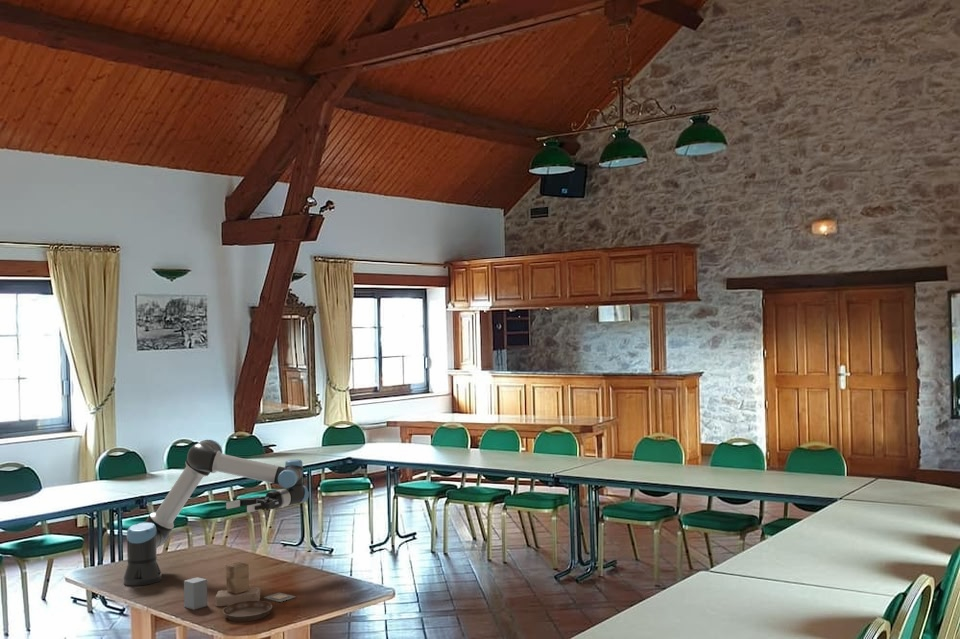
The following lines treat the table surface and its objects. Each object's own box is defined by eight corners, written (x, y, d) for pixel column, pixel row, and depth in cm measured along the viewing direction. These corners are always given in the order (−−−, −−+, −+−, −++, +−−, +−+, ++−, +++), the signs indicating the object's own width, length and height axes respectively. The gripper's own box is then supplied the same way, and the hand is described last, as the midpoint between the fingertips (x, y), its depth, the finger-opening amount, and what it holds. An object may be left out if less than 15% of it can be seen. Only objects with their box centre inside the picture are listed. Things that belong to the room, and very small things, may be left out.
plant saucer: (257, 625, 327) (257, 616, 327) (213, 622, 332) (213, 613, 332) (281, 610, 344) (280, 602, 344) (239, 607, 349) (238, 599, 349)
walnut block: (226, 591, 355) (226, 565, 355) (239, 587, 360) (239, 562, 360) (235, 593, 351) (235, 567, 351) (248, 590, 356) (248, 564, 356)
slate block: (184, 607, 350) (183, 580, 350) (197, 603, 355) (197, 577, 355) (193, 609, 346) (193, 583, 346) (207, 605, 351) (206, 579, 351)
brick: (214, 607, 350) (214, 595, 350) (217, 601, 358) (217, 589, 358) (259, 604, 352) (258, 592, 352) (260, 598, 361) (260, 586, 361)
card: (263, 598, 359) (263, 596, 359) (279, 593, 365) (279, 592, 365) (280, 602, 353) (280, 601, 353) (296, 597, 359) (296, 596, 359)
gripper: (296, 510, 388) (256, 519, 371) (258, 504, 403) (218, 513, 386) (296, 493, 388) (256, 501, 371) (258, 487, 403) (218, 495, 387)
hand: (236, 507), depth 379 cm, fingers open, 13 cm apart
